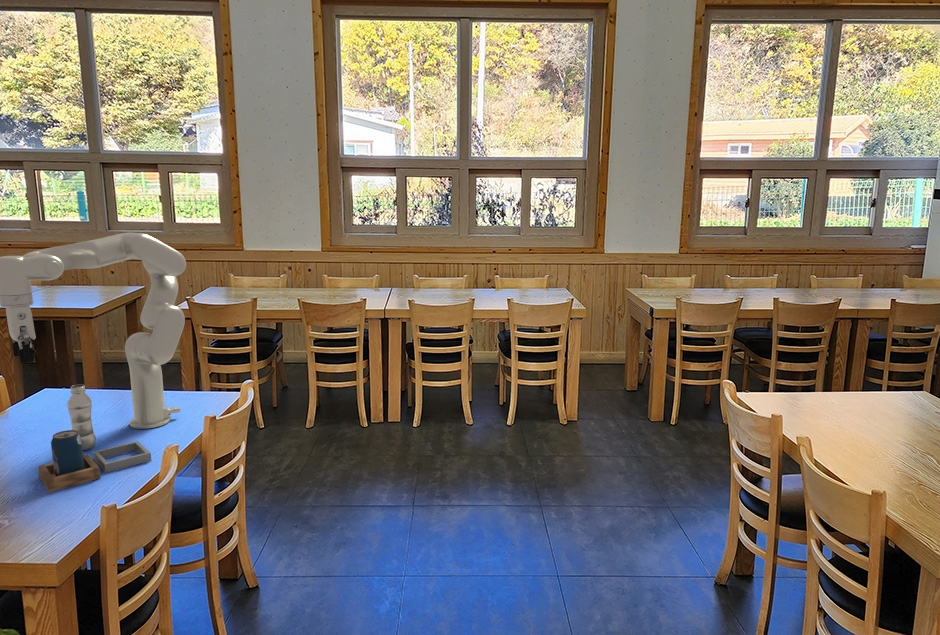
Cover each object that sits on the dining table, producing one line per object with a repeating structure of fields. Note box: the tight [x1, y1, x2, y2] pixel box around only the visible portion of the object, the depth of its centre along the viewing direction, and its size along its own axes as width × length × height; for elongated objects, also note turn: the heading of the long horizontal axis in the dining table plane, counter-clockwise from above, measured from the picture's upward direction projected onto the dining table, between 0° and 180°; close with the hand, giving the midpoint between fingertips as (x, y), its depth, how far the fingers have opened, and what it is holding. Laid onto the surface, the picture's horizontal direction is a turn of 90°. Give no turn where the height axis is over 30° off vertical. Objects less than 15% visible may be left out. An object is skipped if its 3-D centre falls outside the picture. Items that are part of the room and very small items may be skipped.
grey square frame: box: [93, 440, 152, 474], centre depth 179 cm, size 12×12×2 cm
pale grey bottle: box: [66, 384, 97, 451], centre depth 185 cm, size 6×7×20 cm
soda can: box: [50, 429, 84, 476], centre depth 167 cm, size 7×7×12 cm
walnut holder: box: [37, 454, 101, 493], centre depth 167 cm, size 12×12×3 cm
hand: (23, 358), depth 174 cm, fingers open, 9 cm apart
